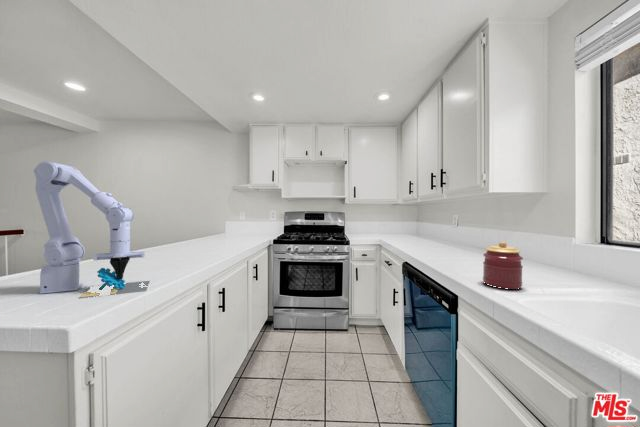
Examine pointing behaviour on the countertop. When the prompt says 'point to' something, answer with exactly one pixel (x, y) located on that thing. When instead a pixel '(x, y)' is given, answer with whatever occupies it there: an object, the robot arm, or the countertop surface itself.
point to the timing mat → (127, 288)
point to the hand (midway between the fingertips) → (120, 278)
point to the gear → (110, 279)
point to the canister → (503, 267)
